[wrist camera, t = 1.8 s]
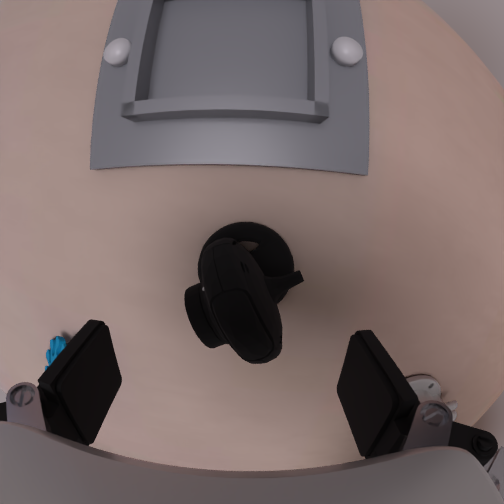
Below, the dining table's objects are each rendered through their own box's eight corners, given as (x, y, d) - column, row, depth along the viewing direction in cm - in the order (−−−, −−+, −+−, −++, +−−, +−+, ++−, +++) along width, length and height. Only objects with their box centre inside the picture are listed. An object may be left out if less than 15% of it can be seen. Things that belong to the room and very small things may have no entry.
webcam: (182, 244, 22) (134, 293, 12) (268, 203, 21) (284, 225, 11) (225, 323, 24) (213, 406, 14) (306, 289, 23) (340, 362, 13)
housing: (352, -14, 15) (363, -32, 12) (362, 175, 20) (382, 175, 17) (127, -13, 15) (115, -30, 11) (95, 169, 20) (73, 169, 17)
